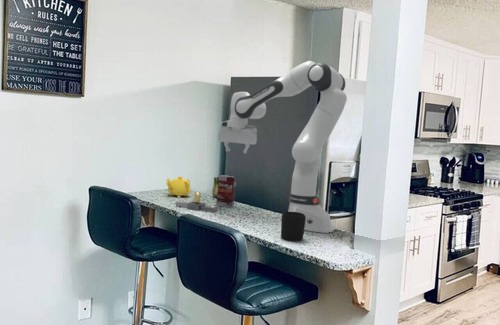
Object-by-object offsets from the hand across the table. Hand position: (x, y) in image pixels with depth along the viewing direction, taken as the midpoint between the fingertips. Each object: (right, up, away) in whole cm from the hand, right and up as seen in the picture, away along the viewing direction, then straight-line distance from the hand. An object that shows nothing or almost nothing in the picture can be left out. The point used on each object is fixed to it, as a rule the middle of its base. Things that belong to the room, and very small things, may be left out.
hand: (236, 152), depth 245 cm
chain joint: (-20, -28, -2) cm, 34 cm away
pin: (-20, -28, -2) cm, 34 cm away
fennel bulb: (-12, -26, +40) cm, 49 cm away
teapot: (-35, -24, +34) cm, 54 cm away
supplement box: (-6, -28, +13) cm, 31 cm away
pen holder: (+23, -35, -51) cm, 66 cm away
